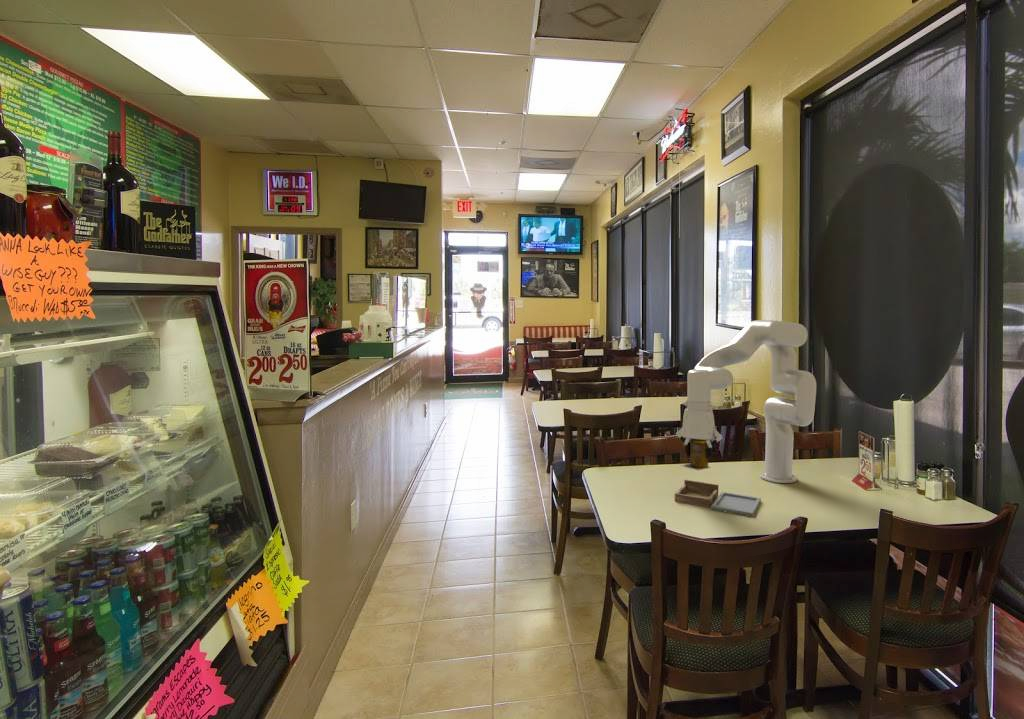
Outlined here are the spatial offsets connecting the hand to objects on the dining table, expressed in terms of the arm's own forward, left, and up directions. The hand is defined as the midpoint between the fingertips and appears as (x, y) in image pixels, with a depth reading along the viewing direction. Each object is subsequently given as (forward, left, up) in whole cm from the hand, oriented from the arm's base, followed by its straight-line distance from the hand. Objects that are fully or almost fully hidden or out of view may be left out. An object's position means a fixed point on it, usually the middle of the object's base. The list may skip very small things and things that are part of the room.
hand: (698, 456), depth 188 cm
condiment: (0, 0, -4) cm, 4 cm away
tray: (0, +13, -15) cm, 20 cm away
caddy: (0, 0, -15) cm, 15 cm away
